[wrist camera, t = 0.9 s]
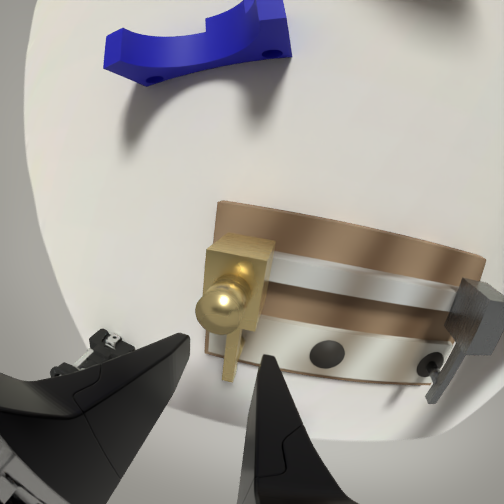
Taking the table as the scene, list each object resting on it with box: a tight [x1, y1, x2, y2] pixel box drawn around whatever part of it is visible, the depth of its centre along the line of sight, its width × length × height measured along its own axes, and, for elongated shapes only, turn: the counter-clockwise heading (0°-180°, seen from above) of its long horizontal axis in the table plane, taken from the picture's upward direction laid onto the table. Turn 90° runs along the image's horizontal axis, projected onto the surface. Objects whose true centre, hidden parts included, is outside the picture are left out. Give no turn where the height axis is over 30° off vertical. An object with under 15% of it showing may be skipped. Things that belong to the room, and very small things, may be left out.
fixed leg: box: [425, 277, 504, 404], centre depth 15 cm, size 3×10×5 cm, turn 172°
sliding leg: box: [195, 232, 276, 383], centre depth 16 cm, size 3×10×7 cm, turn 172°
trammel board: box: [205, 201, 486, 385], centre depth 19 cm, size 22×13×3 cm, turn 82°
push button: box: [50, 329, 134, 378], centre depth 21 cm, size 7×5×10 cm
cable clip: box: [103, 0, 292, 87], centre depth 14 cm, size 12×4×6 cm, turn 95°
